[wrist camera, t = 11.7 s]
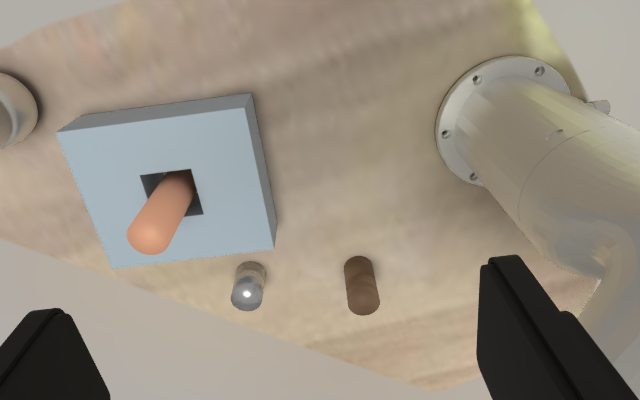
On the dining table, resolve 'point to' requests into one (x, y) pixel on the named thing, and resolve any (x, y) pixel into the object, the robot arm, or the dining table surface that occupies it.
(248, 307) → the short pin
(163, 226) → the long pin
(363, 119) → the dining table surface
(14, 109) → the plastic bottle
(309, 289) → the dining table surface
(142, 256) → the hole block
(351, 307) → the mid pin
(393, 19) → the dining table surface
